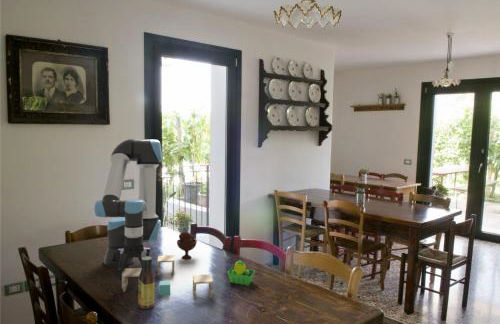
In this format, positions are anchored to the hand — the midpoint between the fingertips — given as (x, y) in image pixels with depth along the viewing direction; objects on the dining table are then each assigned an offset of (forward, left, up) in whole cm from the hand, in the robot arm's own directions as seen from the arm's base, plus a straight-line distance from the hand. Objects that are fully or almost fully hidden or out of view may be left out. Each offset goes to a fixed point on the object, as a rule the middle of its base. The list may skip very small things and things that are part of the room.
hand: (133, 286), depth 166 cm
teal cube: (+12, +8, -1) cm, 14 cm away
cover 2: (-8, +22, -1) cm, 23 cm away
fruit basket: (+26, +40, -1) cm, 48 cm away
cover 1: (0, 0, 0) cm, 0 cm away
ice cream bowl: (-18, +42, -1) cm, 46 cm away
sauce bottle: (+18, -5, -1) cm, 18 cm away
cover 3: (+24, +19, -1) cm, 31 cm away
